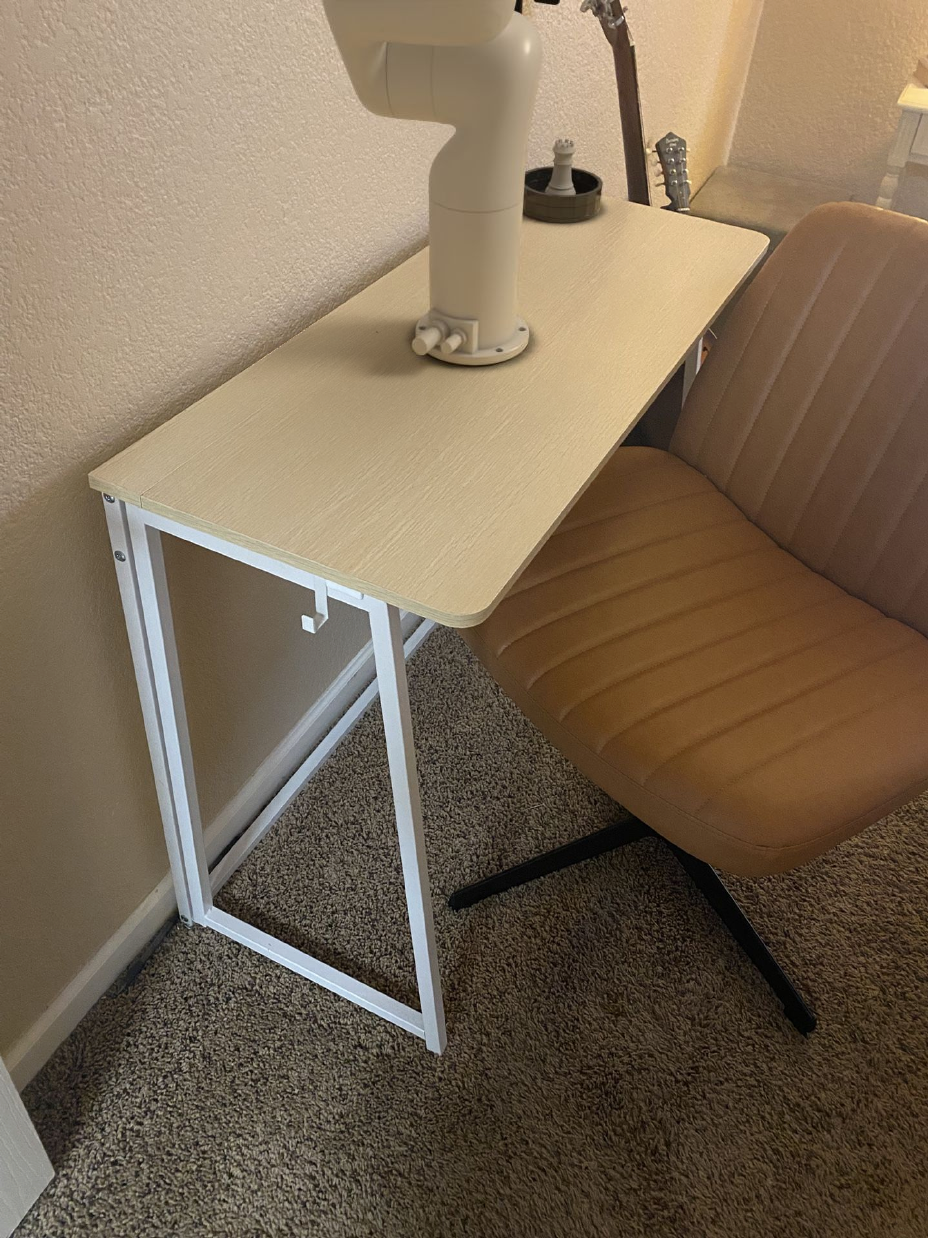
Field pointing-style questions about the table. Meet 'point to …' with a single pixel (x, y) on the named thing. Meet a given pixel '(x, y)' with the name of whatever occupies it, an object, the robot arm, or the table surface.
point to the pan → (561, 196)
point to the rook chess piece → (562, 169)
